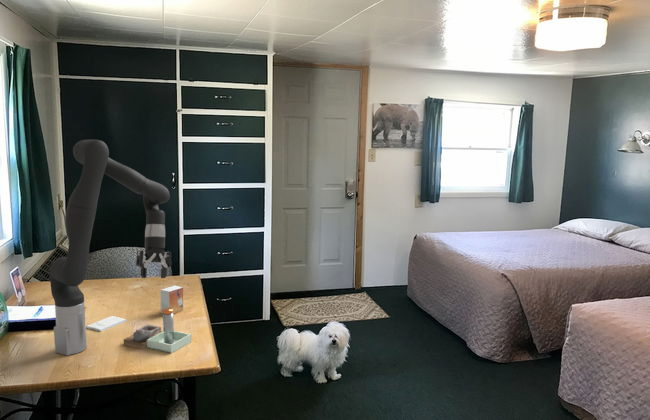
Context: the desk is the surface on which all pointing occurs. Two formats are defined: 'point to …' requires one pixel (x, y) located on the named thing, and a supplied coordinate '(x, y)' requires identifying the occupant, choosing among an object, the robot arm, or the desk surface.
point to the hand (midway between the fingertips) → (153, 278)
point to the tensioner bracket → (142, 336)
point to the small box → (172, 298)
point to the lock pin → (168, 325)
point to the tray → (179, 342)
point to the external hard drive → (106, 323)
